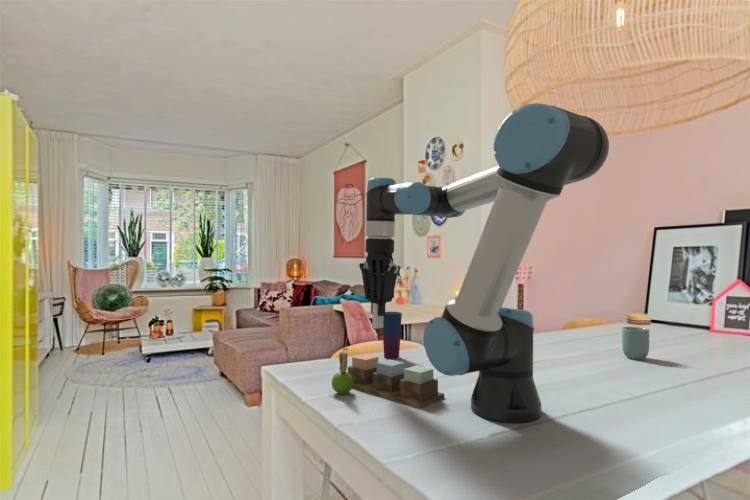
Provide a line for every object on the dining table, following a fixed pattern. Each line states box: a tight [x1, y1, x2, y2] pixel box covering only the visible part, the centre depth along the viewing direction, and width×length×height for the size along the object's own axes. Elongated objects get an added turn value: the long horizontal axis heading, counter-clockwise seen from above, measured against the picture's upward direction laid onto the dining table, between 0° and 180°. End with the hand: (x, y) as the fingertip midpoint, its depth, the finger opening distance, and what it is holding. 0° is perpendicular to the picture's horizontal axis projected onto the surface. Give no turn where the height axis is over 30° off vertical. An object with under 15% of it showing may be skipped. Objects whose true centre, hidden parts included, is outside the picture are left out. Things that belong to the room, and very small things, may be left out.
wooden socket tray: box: [347, 365, 445, 409], centre depth 115 cm, size 26×10×5 cm, turn 47°
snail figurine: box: [331, 347, 353, 395], centre depth 112 cm, size 5×6×12 cm
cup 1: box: [382, 311, 403, 360], centre depth 151 cm, size 7×7×15 cm
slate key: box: [377, 359, 405, 377], centre depth 115 cm, size 5×5×3 cm
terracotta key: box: [351, 353, 379, 371], centre depth 121 cm, size 5×5×3 cm
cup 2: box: [621, 326, 650, 361], centre depth 151 cm, size 8×8×10 cm
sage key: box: [404, 364, 434, 385], centre depth 108 cm, size 5×5×3 cm
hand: (377, 327), depth 118 cm, fingers closed
